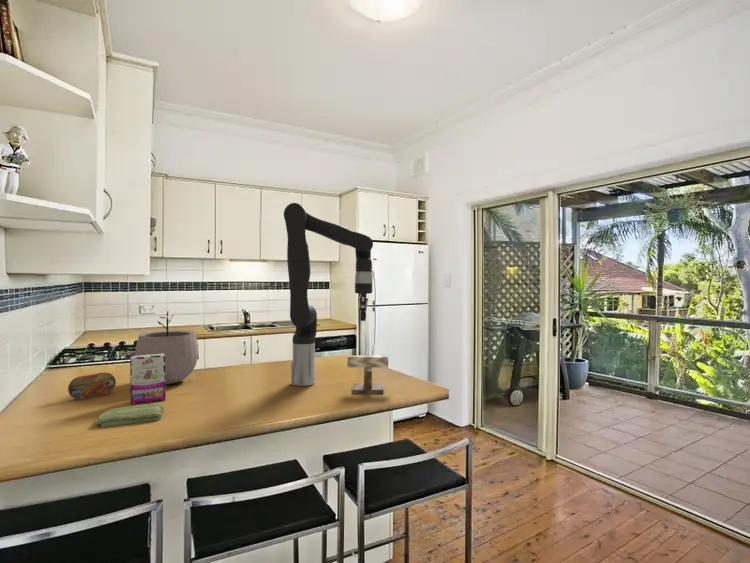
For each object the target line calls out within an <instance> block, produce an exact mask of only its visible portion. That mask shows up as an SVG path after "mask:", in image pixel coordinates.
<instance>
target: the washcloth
mask: <svg viewBox="0 0 750 563" xmlns="http://www.w3.org/2000/svg"><path fill="white" fill-rule="evenodd" d="M164 408H165V407H164V405H163V404H162V402H151V403H148V404H138V405H132V406H131V405H128V406H123V407H122V406H120V407H115V408H110V409H108V410H105V411H104V412H103V413H102V414H100V415H99V418H97V419H96V421H95V425H100V426H101V428H109V427H115V426H124V425H133V424H139V423H146V422H147V423H149V422H154V421H155V422H156V421H159V420H161V419H162V415H163V410H164Z"/></svg>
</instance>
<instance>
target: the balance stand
mask: <svg viewBox="0 0 750 563" xmlns="http://www.w3.org/2000/svg"><path fill="white" fill-rule="evenodd" d="M351 390H352V391H351V392H352V394H365V395H367V394H368V395H371V394H372V395H373V394H377V395H380V394H381V395H382V394H384V384H383V383H381V382H377V383H375V382H373V367H363V383H361V382H358V383H356V382H354V383H352V388H351Z"/></svg>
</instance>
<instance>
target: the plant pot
mask: <svg viewBox="0 0 750 563" xmlns="http://www.w3.org/2000/svg"><path fill="white" fill-rule="evenodd" d="M174 314H175V313H173V314H172V316H171V317H170V319H169V317H168V316H169V310H168V311H167V312H166V317H163V316H159V318H161V319H166V326H165V325H164V324H163V323H161V321H159V320H157V323H158V324H159V325H161V326H162V327H163V328H165V330H156V331H155V330H154V331H148V332H147V331H146V332H143V333H140V334H139V335H138V338H137V341H136V345H135V349H134V350H135V351H134V356H137V355H150V354H163V353H165V385H170V384H175V383H179V382H181V381H183V380H185V379H186V378H187V377H189V376H190V375H191V374H192V373H193V372H194V370H195V368H196V366H197V362H198V358H199V344H198V340H197V336H196V333H195V331H193V330H184V329H182V330H181V329H177V330H176V329H174V330H173V329H172V330H169V323H170V322H171V319H172V318H173V316H174Z"/></svg>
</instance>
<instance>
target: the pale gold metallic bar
mask: <svg viewBox="0 0 750 563" xmlns="http://www.w3.org/2000/svg"><path fill="white" fill-rule="evenodd" d="M364 367H372V368H377V369H378V368H385V369H386V368H389V355H376V354H375V355H374V354H373V355H365V354H364V355H363V354H362V355H355V354H354V355H347V368H364Z"/></svg>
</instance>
